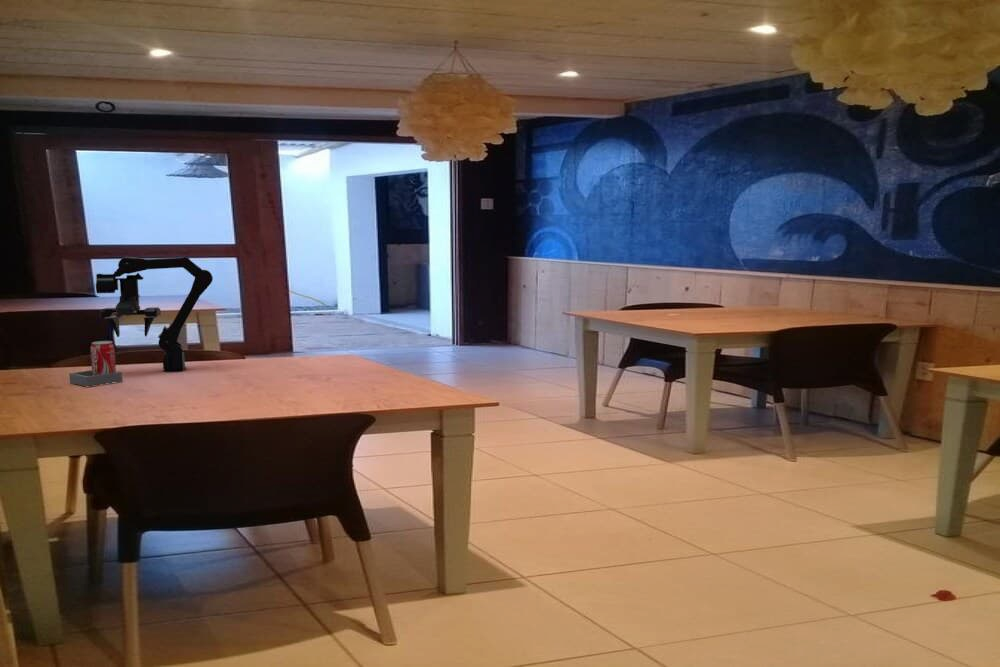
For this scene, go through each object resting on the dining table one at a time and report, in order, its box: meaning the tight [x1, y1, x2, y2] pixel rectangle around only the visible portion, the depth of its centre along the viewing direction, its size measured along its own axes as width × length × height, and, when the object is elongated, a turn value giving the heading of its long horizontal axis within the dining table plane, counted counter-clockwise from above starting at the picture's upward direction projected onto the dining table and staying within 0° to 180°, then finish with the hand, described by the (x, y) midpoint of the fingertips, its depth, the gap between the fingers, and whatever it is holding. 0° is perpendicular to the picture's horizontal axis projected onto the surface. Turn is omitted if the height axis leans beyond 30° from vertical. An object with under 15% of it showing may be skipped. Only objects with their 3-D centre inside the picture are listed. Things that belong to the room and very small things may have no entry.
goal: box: [69, 369, 123, 387], centre depth 257 cm, size 12×12×3 cm
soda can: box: [90, 340, 117, 376], centre depth 258 cm, size 7×7×13 cm
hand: (132, 336), depth 273 cm, fingers open, 9 cm apart
